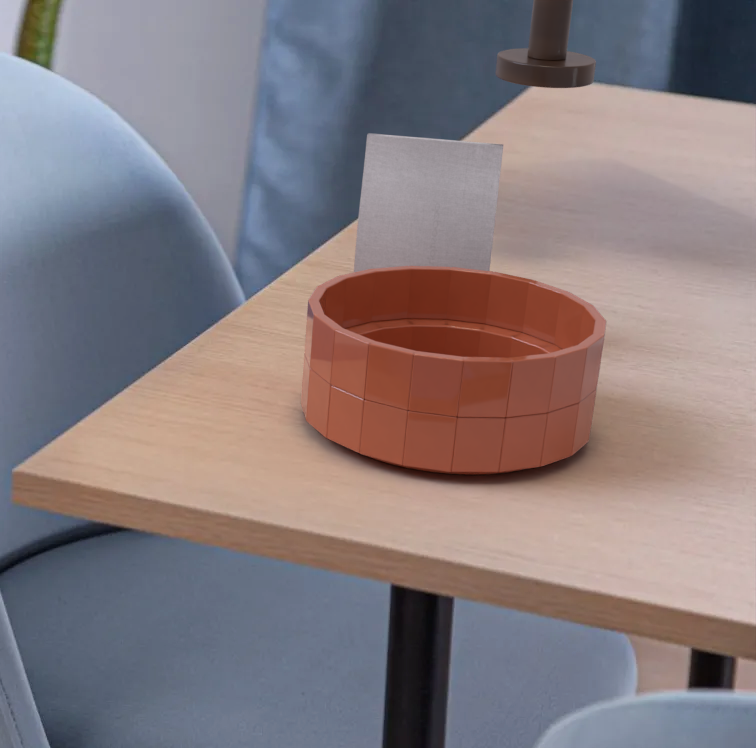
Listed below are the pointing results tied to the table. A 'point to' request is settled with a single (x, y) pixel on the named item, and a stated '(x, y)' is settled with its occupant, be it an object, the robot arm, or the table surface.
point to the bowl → (451, 368)
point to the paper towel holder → (547, 52)
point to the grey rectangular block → (427, 203)
